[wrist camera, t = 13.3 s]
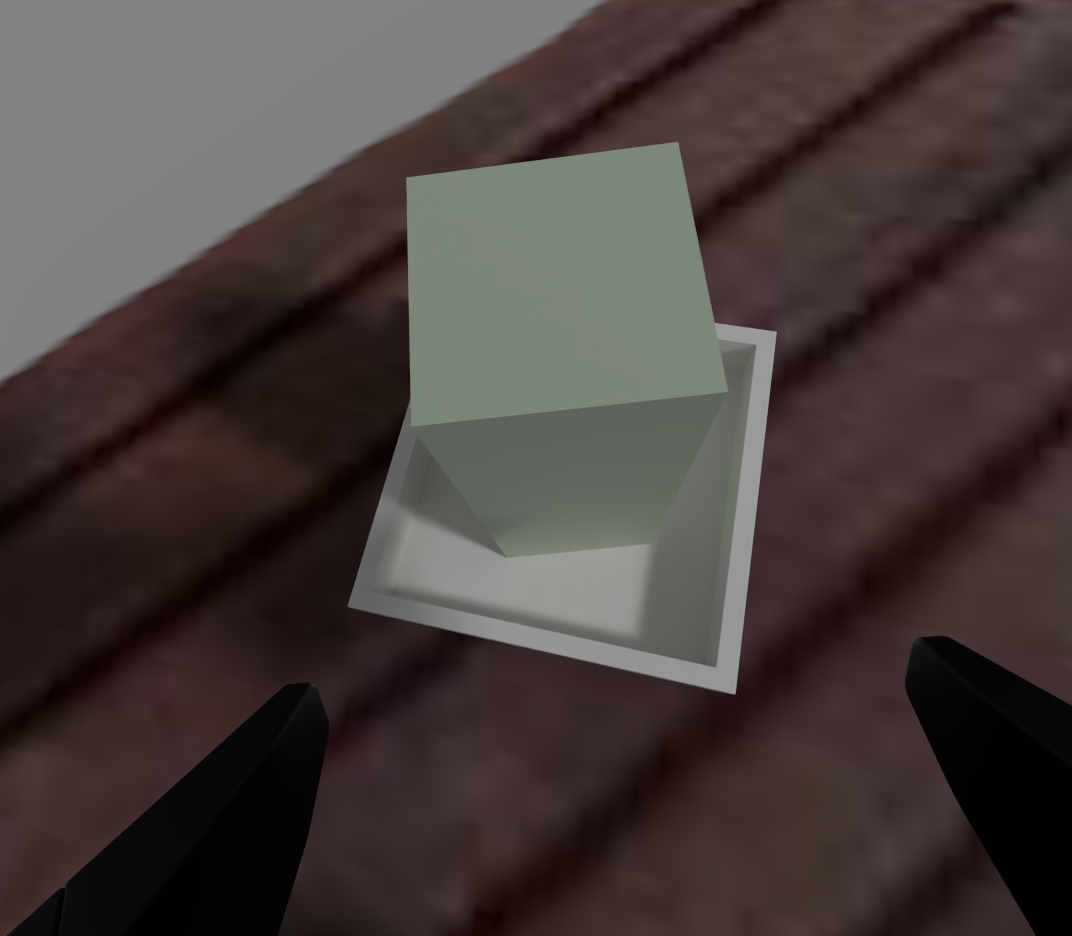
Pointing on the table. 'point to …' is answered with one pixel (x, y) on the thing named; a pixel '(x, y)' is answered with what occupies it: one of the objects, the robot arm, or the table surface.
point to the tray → (589, 555)
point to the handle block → (562, 344)
